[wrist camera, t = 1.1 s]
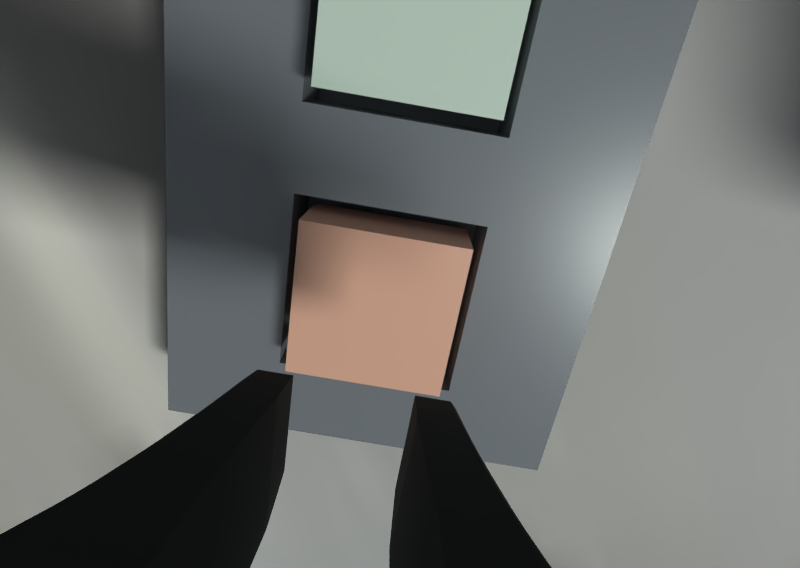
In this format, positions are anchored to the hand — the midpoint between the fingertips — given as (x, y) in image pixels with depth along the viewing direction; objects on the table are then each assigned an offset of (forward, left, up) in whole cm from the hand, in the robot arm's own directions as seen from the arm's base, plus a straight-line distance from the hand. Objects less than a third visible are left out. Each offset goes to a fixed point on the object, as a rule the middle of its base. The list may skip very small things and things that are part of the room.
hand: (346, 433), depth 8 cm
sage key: (0, -7, -7) cm, 10 cm away
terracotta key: (0, 0, -7) cm, 7 cm away
